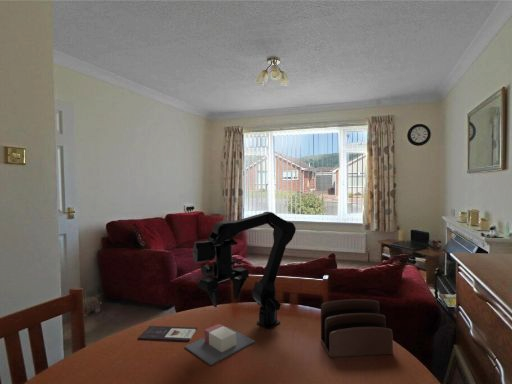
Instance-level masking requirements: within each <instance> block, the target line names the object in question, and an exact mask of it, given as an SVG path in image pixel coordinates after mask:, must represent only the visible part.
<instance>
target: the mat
mask: <svg viewBox="0 0 512 384" xmlns="http://www.w3.org/2000/svg"><path fill="white" fill-rule="evenodd" d="M226 328H228V329H230V330H232V331H234V332H236V345H235V346H233V347H231V348H229V349H227V350H225V351H224V352H220V351H219V350H217V349H216V348H214V347H212V346H211V345H209V344H207V343H206V342H205V336H204V337H202V338H200V339H197V340H196V341H194V342H191V343H189V344H186V345H185V346H184V348H185V349H186V350H188V351H189V352H190V353H192V354H193V355H195V356H196V357H197V358H198V359H200V360H202V361H204V362H205V363H206V364H208V365H209V366H210V367H212V366H213V365H215V364H217V363H219V362H221V361H222V360H224V359H226V358H229V357H230V356H232V355H234V354H236V353H237V352H240V351H241V350H243V349H245V348H247V347H248V346H251V345H253V344H255V342H256V340H254V339H252V338H251V337H248V336H246V335H244V334H243V333H241V332H239V331H237V330H234V328H233V329H232V328H231V327H228V326H227V327H226Z"/></svg>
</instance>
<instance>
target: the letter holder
mask: <svg viewBox="0 0 512 384" xmlns="http://www.w3.org/2000/svg"><path fill="white" fill-rule="evenodd" d="M386 320H387V319H386V316H385V315H384V314H381V313H380V302H379V301H378V300H377V299H376V300H375V299H366V298H350V299H349V298H348V299H339V300H338V299H337V300H330V301H325V302H323V303H321V304H320V341H321V344H322V345H323V347H324V350H325V351H326V353H327V355H328V357H329V358H342V357H363V356H380V355H381V356H382V355H383V356H384V355H393V354H394V341H393V339H394V337H393V336H394V335H393V334H394V333H393V329H391V328H390V327H389V328H388V327H386V324H387V323H386Z"/></svg>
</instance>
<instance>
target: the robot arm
mask: <svg viewBox="0 0 512 384" xmlns="http://www.w3.org/2000/svg"><path fill="white" fill-rule="evenodd" d="M264 225H268V226H269V227H271V228H272V229H273V232H272V236H273V237H272V238H273V244H272V247H271V249H270V252H269V256H268V260H267V263H266V266H265V269H264V272H263V275H262V278H261V279H260V280H259V281H257V280H255V282H254V285H253V289H252V290H251V292H252V298H253V300H255V302H256V303H257V305H259V306H260V307H259V313H258V320H257V321H256V323H257V324H258V325H259V326H263V327H264V328H266V329H271V328H273V327H275V326H277V325H279V324H281V320H278V311H279V310H280V308H281V302H279V301H278V300H277V299H276V293H277V292H276V284H275V283H276V279H277V276H278V274H279V270H280V267H281V263H282V260H283V257H284V254H285V251H286V248H287V246H288V245H289V244H290V242H291V241H292V239H293V238H294V236H295V233H296V231H297V228H296V226H295V224H294V223H293V222H291V221H287V220H285V219H283V218H282V217H280V216H278V215H277V214H276V213H274V212H272V211H264V212H263V213H262V212H261V213H258V214H255V215H252V216H248V217H244V218H240V219H238V220H222V221H217V222H215V223H214V225H213V227H212V231H211V233H210V234H209V236H208V237H207V239H206V240H204V241H194V242H193V243H194V245H193V248H192V258H193V262H194V263H196V264H197V263H204V262H211V261H212V265H210V266H209V263H208V264H204V265H201V273H202V275H206V277H203V278H200V279H199V280H198V281H197V282H198V283H197V285H198V286H197V287H198V288H199V289H201V290H203V291H205V292H207V295H208V296H209V298H210V300H211V303H212V305H213V307H214V308H217V307H218V302H219V293H220V288H218V287H219V284H220V283H223V282H226V281H230V280H231V282H232V293H233V299H235V300H236V299H238V296H239V294H240V291H241V289H242V287H243V286H244V284H245V282H246V281H247V279H248V278H250V277H249V276H250V272H249V270H248V269H246V268H243V267H239V266H238V267H235V268H233V266H234V265H235V264H236V261H235V260H233V246H235V245H238V242H237V241H236V240H235V239H234V238H235V237H236V236H237V235H239V234H240V233H242V232H243V231H244V232H245V231H247V230H250V229H255V228H257V227H261V226H264ZM214 259H215V260H214ZM210 276H212V277H215V278H212V277H210Z"/></svg>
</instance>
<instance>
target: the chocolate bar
mask: <svg viewBox="0 0 512 384" xmlns="http://www.w3.org/2000/svg"><path fill="white" fill-rule="evenodd" d="M197 330H198V327H196V326H195V327H191V326H190V327H189V326H167V325H166V326H165V325H149V326H148V327H147V328H146V329H145V330H144V331H143V332H142V333H141V334H140V335H139V336H138V337H137V340H139V341H140V340H141V341H143V340H144V341H159V342H160V341H164V342H183V343H185V342H186V343H187V342H191V339H192V337H193V336H194V334H195V333H196V331H197Z"/></svg>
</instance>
